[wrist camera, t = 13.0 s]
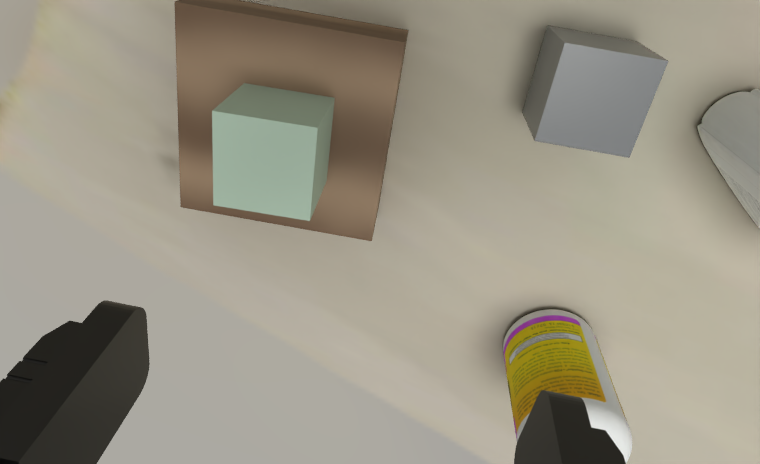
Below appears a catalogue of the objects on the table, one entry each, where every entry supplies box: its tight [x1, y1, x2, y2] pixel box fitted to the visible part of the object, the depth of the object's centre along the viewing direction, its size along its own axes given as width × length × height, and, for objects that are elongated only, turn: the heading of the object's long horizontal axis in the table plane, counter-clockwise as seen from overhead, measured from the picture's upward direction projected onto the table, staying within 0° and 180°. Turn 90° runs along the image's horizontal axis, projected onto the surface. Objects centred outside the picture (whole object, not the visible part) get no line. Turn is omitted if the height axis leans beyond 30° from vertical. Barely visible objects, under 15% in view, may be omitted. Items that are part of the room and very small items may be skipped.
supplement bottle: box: [503, 309, 632, 463], centre depth 36 cm, size 7×7×13 cm
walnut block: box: [175, 0, 408, 241], centre depth 33 cm, size 12×12×4 cm
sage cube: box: [212, 83, 335, 221], centre depth 30 cm, size 5×5×5 cm
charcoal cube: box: [522, 25, 668, 158], centre depth 30 cm, size 5×5×5 cm
